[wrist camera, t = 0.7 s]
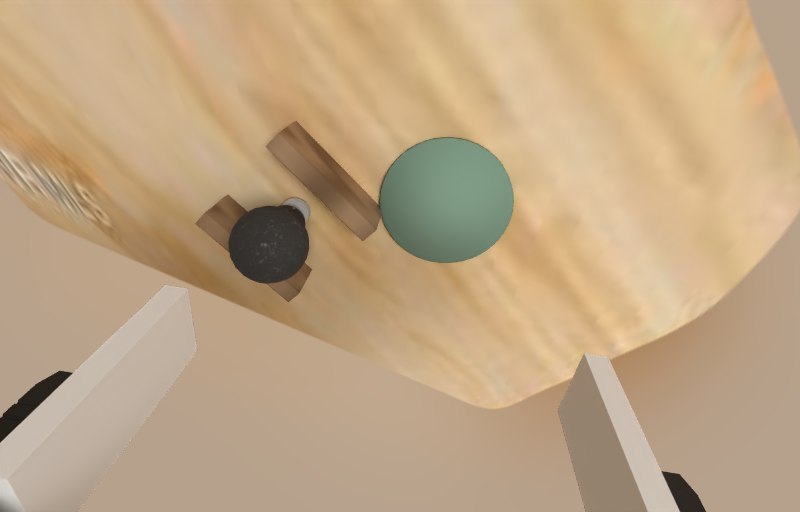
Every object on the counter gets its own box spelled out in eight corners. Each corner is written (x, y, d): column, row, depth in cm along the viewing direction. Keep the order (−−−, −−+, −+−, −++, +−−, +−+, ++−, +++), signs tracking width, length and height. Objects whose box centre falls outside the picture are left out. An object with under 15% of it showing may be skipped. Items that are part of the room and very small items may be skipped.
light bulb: (275, 166, 36) (219, 214, 27) (338, 191, 36) (303, 246, 27) (262, 222, 38) (208, 282, 30) (321, 244, 39) (284, 310, 30)
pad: (354, 196, 36) (353, 198, 36) (455, 106, 32) (455, 108, 31) (438, 280, 40) (437, 283, 39) (539, 209, 35) (541, 212, 35)
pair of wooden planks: (218, 204, 38) (195, 223, 34) (296, 120, 34) (278, 132, 30) (301, 277, 41) (288, 302, 37) (383, 209, 37) (376, 230, 33)
